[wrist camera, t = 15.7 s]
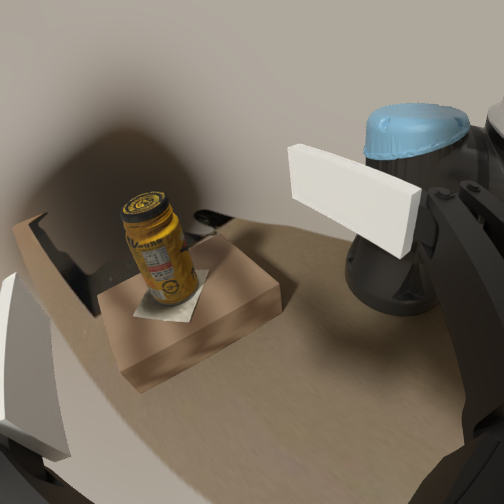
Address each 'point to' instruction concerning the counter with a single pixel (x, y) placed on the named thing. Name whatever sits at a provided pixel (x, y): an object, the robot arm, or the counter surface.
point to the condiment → (161, 259)
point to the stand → (202, 319)
